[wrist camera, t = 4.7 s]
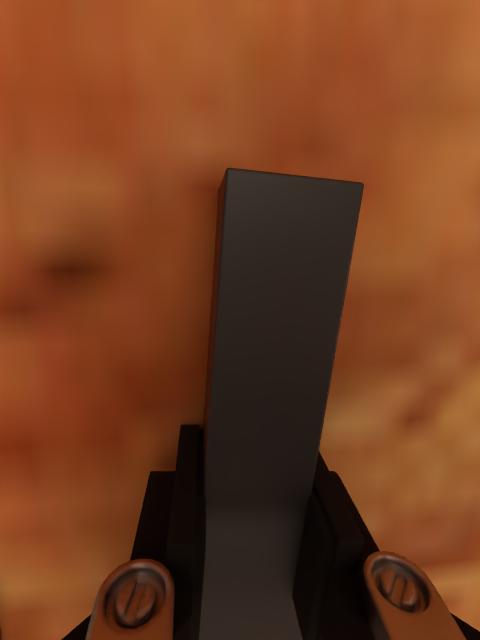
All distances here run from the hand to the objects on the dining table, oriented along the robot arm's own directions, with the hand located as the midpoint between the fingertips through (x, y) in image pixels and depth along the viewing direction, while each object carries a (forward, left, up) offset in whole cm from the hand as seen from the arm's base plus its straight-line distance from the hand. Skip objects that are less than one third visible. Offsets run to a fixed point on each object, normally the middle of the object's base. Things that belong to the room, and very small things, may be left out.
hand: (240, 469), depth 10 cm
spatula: (0, 0, 0) cm, 0 cm away
